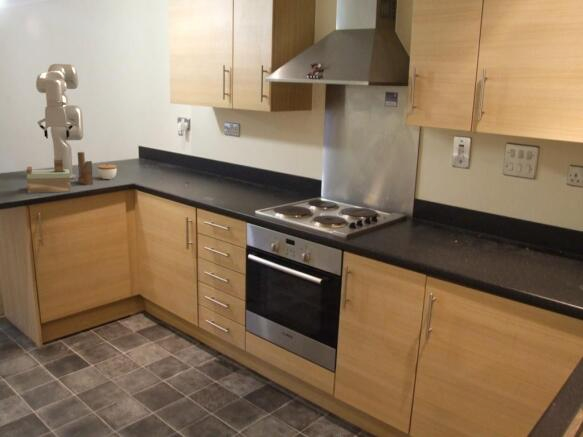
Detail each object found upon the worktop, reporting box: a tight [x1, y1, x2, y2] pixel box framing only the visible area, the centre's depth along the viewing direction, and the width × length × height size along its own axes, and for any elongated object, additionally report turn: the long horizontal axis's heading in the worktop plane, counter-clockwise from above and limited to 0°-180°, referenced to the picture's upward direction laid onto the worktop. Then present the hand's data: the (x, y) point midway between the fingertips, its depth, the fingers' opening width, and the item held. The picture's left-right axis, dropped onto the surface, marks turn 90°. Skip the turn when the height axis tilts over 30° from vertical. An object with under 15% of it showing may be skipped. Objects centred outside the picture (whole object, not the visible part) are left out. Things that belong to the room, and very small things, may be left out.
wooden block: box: [77, 151, 94, 186], centre depth 297 cm, size 4×11×18 cm, turn 48°
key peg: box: [53, 159, 63, 173], centre depth 279 cm, size 4×4×16 cm
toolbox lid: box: [25, 166, 70, 180], centre depth 277 cm, size 12×20×4 cm, turn 113°
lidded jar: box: [97, 162, 118, 180], centre depth 317 cm, size 11×11×9 cm
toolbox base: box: [26, 178, 71, 194], centre depth 279 cm, size 12×20×8 cm, turn 113°
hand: (57, 138), depth 273 cm, fingers open, 9 cm apart
